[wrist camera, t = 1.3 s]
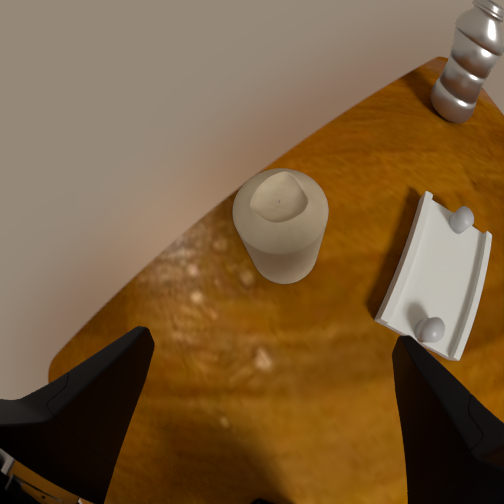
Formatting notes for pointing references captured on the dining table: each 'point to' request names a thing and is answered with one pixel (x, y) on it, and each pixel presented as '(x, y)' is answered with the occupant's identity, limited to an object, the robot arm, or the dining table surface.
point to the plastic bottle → (469, 61)
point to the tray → (438, 279)
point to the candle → (281, 223)
